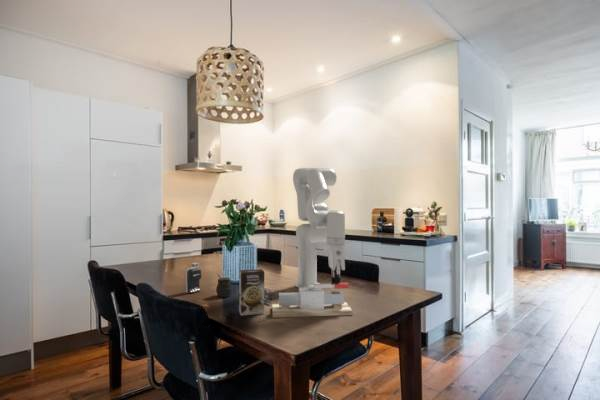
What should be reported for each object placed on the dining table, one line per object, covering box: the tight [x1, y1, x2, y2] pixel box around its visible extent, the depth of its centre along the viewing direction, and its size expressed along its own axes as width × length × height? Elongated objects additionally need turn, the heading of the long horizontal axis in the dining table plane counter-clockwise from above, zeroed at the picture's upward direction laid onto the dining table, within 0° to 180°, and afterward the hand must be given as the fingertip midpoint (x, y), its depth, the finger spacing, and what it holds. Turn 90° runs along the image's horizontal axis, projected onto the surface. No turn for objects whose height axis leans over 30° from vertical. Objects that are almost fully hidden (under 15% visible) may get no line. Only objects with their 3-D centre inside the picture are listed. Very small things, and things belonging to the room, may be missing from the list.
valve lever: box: [308, 282, 350, 290], centre depth 136 cm, size 16×3×2 cm, turn 93°
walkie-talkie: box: [264, 287, 276, 305], centre depth 154 cm, size 9×4×20 cm
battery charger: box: [185, 267, 202, 294], centre depth 166 cm, size 7×4×11 cm, turn 145°
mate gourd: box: [215, 273, 233, 298], centre depth 160 cm, size 7×8×10 cm
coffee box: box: [238, 268, 265, 316], centre depth 135 cm, size 9×6×16 cm
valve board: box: [271, 301, 354, 319], centre depth 136 cm, size 12×30×3 cm, turn 95°
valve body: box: [278, 287, 345, 311], centre depth 136 cm, size 7×25×7 cm, turn 95°
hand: (335, 286), depth 143 cm, fingers closed
